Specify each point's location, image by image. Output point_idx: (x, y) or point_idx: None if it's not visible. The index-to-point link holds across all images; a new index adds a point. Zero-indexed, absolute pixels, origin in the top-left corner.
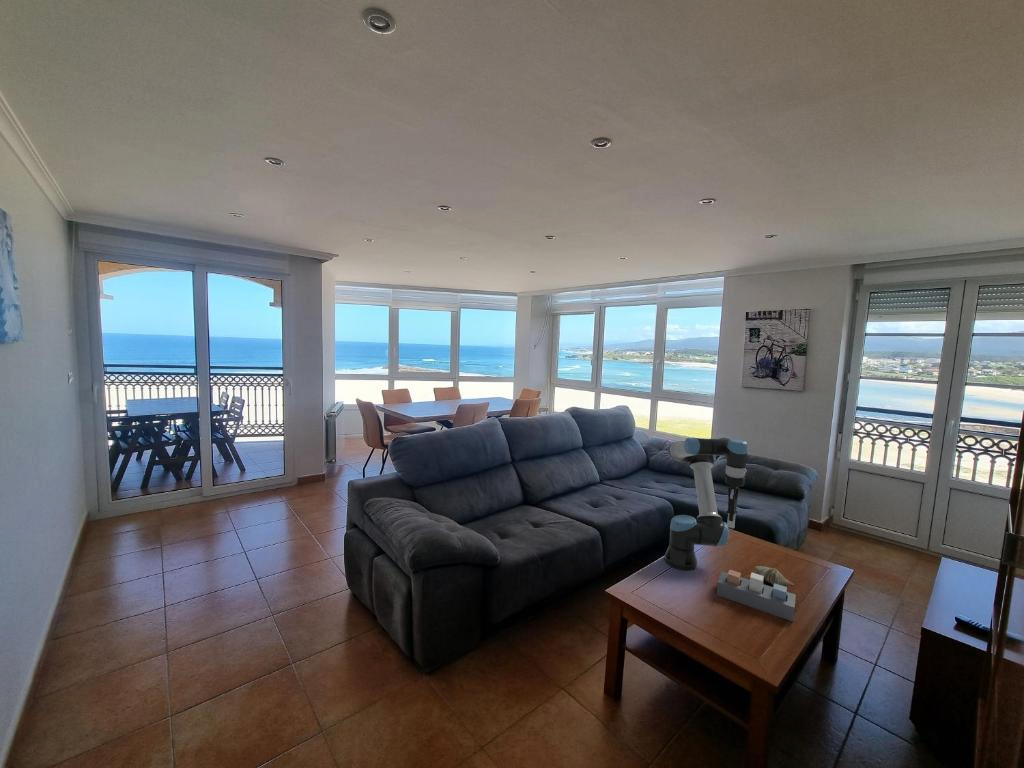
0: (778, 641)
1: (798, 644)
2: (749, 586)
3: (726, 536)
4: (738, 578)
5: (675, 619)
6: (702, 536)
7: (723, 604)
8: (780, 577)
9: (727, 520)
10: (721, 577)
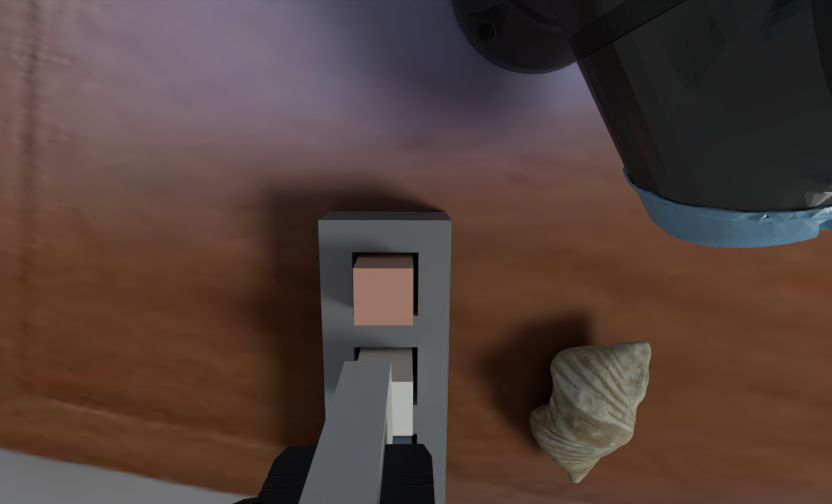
0: (176, 437)
1: (208, 487)
2: (358, 358)
3: (681, 233)
4: (354, 318)
5: (7, 98)
6: (590, 57)
7: (274, 248)
8: (569, 453)
9: (330, 411)
10: (380, 227)
